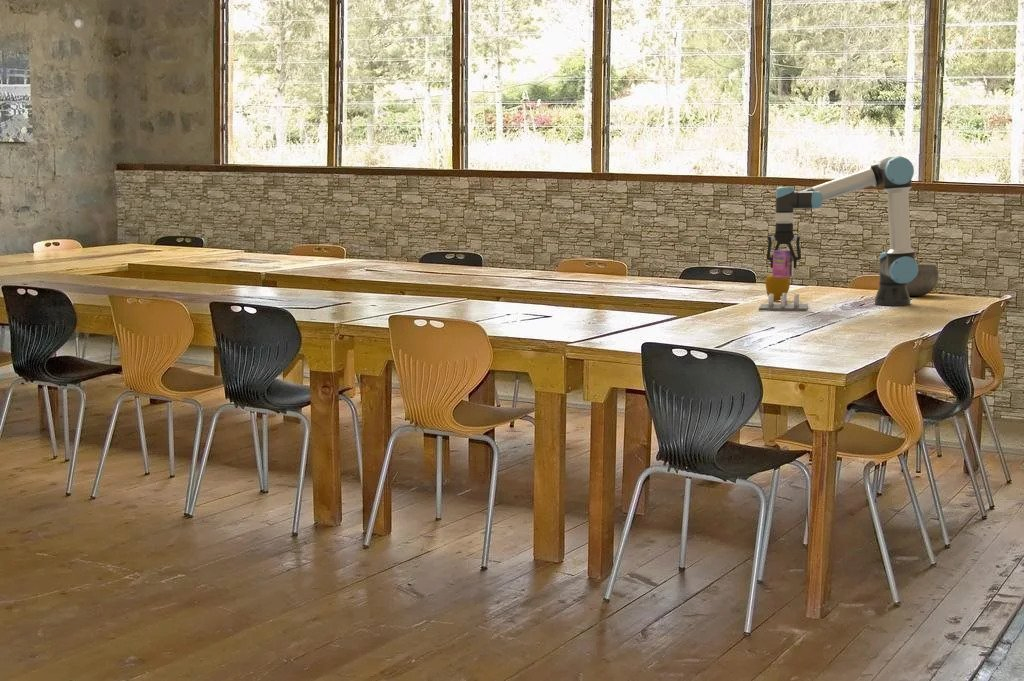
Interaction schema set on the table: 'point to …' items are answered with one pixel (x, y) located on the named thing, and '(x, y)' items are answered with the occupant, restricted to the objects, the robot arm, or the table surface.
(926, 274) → the bowl
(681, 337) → the table surface
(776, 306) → the pin tray
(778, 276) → the box
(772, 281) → the apple
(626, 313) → the table surface
